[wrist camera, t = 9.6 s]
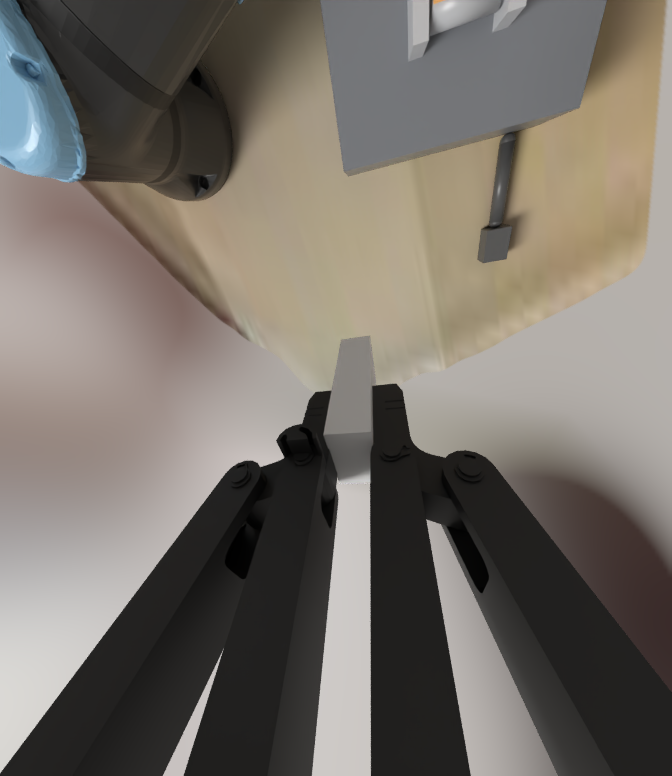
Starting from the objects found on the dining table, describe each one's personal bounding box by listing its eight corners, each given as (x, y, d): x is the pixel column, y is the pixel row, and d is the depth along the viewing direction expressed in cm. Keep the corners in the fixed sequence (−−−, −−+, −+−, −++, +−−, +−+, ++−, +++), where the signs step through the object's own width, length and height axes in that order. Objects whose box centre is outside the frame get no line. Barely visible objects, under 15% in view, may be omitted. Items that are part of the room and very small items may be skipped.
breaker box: (362, 280, 42) (360, 303, 33) (321, -34, 25) (294, -160, 16) (510, 253, 37) (553, 271, 29) (586, -153, 20) (751, -417, 11)
